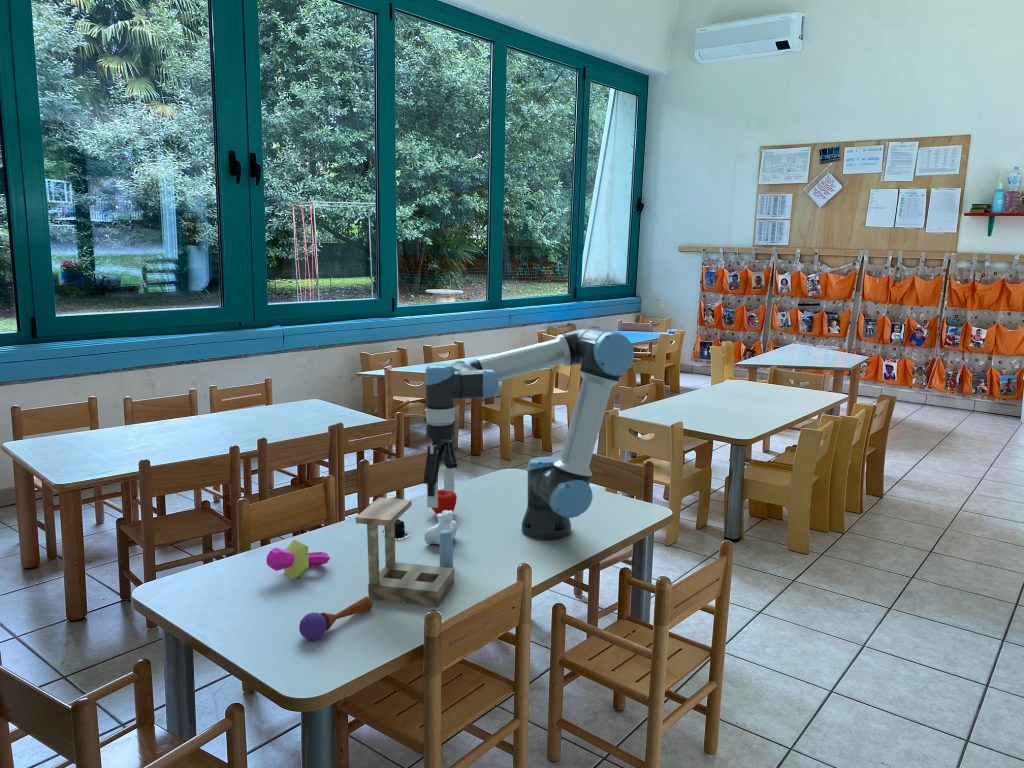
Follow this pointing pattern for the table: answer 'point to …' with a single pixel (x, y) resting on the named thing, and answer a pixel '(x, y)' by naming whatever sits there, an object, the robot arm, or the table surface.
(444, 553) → the peg
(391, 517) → the awning
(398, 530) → the black rounded block
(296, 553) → the toy
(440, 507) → the apple
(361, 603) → the kendama
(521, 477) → the table surface
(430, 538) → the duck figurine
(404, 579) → the socket board
